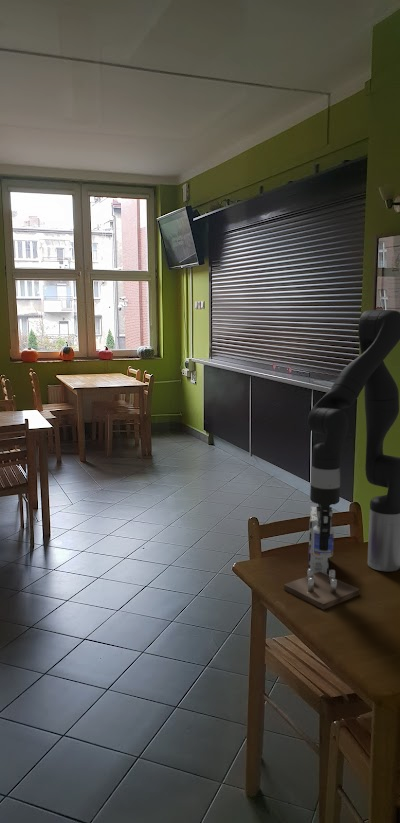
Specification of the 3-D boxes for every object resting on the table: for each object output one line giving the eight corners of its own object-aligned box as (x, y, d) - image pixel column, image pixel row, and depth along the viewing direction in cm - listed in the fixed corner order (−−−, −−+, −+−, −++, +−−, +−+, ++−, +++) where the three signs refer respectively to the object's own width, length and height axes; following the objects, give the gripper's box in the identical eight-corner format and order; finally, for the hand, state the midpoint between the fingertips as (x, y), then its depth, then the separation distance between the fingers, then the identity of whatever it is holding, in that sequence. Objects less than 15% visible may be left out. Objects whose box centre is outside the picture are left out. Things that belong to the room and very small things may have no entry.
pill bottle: (336, 557, 157) (337, 522, 155) (317, 559, 155) (318, 523, 154) (327, 550, 162) (328, 515, 160) (308, 551, 161) (310, 516, 159)
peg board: (319, 576, 170) (319, 571, 170) (359, 594, 159) (359, 589, 159) (283, 589, 162) (284, 584, 162) (323, 609, 151) (323, 604, 150)
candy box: (328, 577, 170) (330, 521, 167) (307, 575, 171) (309, 520, 168) (328, 558, 183) (330, 506, 180) (308, 557, 184) (310, 505, 182)
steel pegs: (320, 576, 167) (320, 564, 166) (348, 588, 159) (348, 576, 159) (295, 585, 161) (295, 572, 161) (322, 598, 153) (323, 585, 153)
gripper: (342, 492, 148) (339, 557, 151) (337, 477, 162) (335, 537, 165) (311, 490, 149) (309, 555, 152) (309, 476, 163) (307, 535, 166)
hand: (322, 545), depth 158 cm, fingers closed on pill bottle, 5 cm apart
